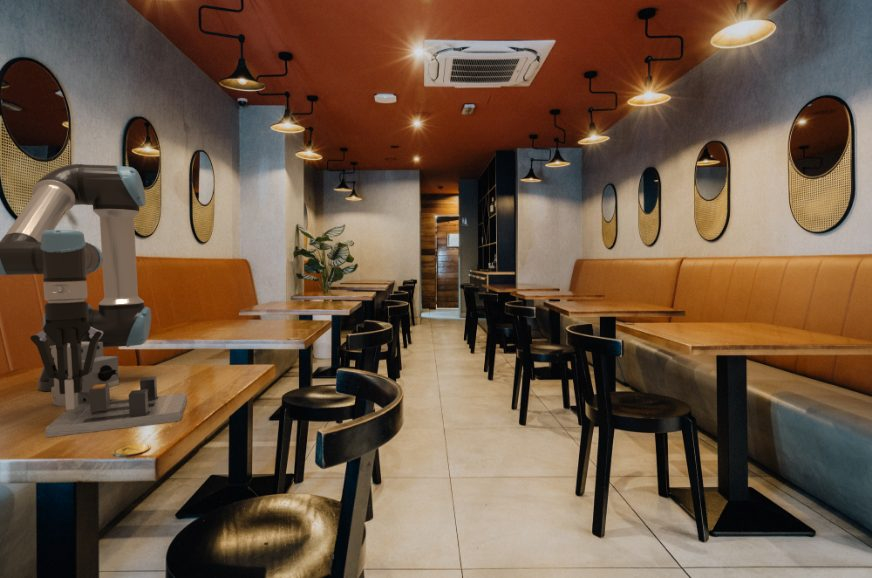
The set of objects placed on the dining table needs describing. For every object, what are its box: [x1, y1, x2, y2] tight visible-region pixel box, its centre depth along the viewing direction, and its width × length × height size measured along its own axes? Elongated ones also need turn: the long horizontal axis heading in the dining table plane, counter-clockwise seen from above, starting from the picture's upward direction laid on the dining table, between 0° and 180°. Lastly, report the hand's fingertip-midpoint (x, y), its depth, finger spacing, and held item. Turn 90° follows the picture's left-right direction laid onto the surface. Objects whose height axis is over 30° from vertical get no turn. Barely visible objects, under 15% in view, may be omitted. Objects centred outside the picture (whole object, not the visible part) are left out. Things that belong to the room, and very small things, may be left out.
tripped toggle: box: [89, 384, 111, 412], centre depth 108 cm, size 4×3×5 cm
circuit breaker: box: [50, 342, 120, 407], centre depth 123 cm, size 8×14×15 cm, turn 78°
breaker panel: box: [45, 376, 188, 438], centre depth 110 cm, size 18×24×7 cm
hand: (72, 407), depth 106 cm, fingers closed
